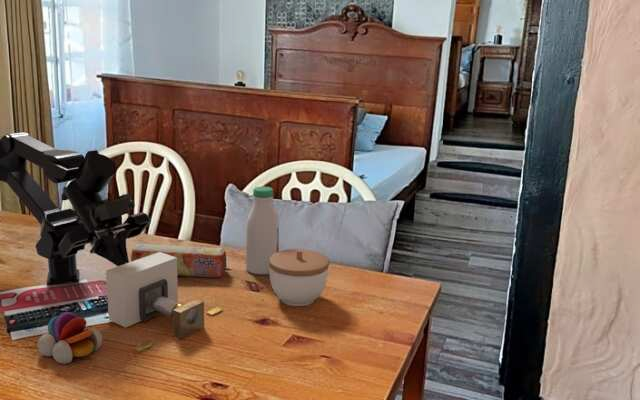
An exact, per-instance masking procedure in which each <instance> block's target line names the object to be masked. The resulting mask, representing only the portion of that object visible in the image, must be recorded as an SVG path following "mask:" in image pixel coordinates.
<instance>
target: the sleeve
mask: <svg viewBox="0 0 640 400" xmlns="http://www.w3.org/2000/svg"><path fill="white" fill-rule="evenodd" d="M105 278H106V292H107V296H106V297H107V309H108V313H107V314H108V321H111V322H113V323H115V324H117V325H119V326H120V327H123V328H125V329H126V328H128V327H130V326H132V325H134V324H137V323H140V322H141V321H142V322H146V321H148V320H150V319H152V318H154V317H156V316H158V315H159V316H160V315H161V314H162V313H160V312H158V311H156V310H153V309H151V308H149V307H146V298H145V293H146V292H149V291H151V292H154V293H156V294H159V295H161V296H164V297H166V298H169V299H171V300H174V301H176V302H179V300H178V299H179V296H178V295H179V292H178V290H179V289H178V276H177V258H176V257H173V256H170V255H168V254H165V253H162V252H158V253H155V254H152V255H149V256H146V257H144V258H141V259H138V260H135V261H132V262H131V261H129V263H126V264H123V265H120V266H115V267H112V268H110V269H106V270H105Z"/></svg>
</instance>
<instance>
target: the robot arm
mask: <svg viewBox="0 0 640 400" xmlns="http://www.w3.org/2000/svg"><path fill="white" fill-rule="evenodd" d="M27 161H28V162H30V163H32V164H34V165H35V166H37V167H39V168H41V169H42V172H43V176H45V177H46V178H47V179H48V180H49V181H51V182H52V183H54V184H55V185H56V184H62V183H66V182H68V184H67V186H63V188H62V190H63V191H62V193H61V200H62V201H64V202H65V201H69V202H70V204H71V205H72V206H71V207H72V208H73V209H72V208H71V207H70V208H66V209H62V210H61V209H60V208H59V207H58V206H57V205H56V203H54V201H53V200H52V199H51V197H50V196H49V195H48V194H47V193H46V192H45V191H44V189H43V188H42V187H41V186H40V184H39V183H38V182H37V181H36V180H35V178H34V177H32V175H31V174H30V173H29V172H28V170H27V167H26V166H27V165H26V164H27ZM116 173H117V165H116V163H115V161H114V160H112V159H111V158H110V157H109V156H107V155H105V154H103V153H100V152H99V150H98V149H93V150H87V152H86V153H85V156H84V155H83V154H82V153H81V152H78V151H73V150H67V149H66V150H65V149H56V148H54V147H52V146H50V145H48V144H46V143H44V142H42V141H40V140H37V139H36V138H34V137H32V136H31V135H30V134H29V133H27V132H13V133H12V132H11V133H6V134H5V135H3V136H2V137H1V138H0V182H3V183H6V184H7V185H8V186H9V188H11V190H12V191H13V193H14V194H15V195H16V196H17V197H18V199H19V200H20V201H21V202H22V204H24V206H25V207H26V208H27V210H28V211H29V212H30V213H31V215H32V216H33V217H34V218H35V219H36V221H37V222H38V223H39V224H40V234H39V235H40V238H39V240H38V241H37V243H35V249H36V253H37V255H38V256H40V257H42V258H45V259H47V265H48V272H47V276H46V277H47V278H46V285H48V286H49V285H50V286H51V285H59V283H60V284H68V283H67V282H70V283H78V282H79V281H80V269H78V268H77V254H78V253H79V251H83V250H85V247H86V245H89V244H90V247H91V249H90V250H89V253H90V254H92V255H93V254H95V255H97V256H100V257H102V258H103V259H105V260H107V261H108V262H110V263H112V264H114V265H115V266H116V267H118V266H120V265H123V264H126V263H129V262H130V261H129V255H128V249H127V239H131V238H134V237H138V236H140V235H142V233H143V232H144V231H145V229H147V227H148V226H149V224H151V223H152V220H151V218H150V217H149V215H148V214H147V213H146V212H138V213H135V214H131V210H132V209H134V208H135V202H134V201H135V200H134V199H133V198H132V196H131V195H130V194H129V192H128V193H124V194H121V195H118V196H117V199H115V200H112V201H110V200H108V198H107V199H103V198H102V196H101V194H100V193H101V192H103V190H104V189H105V188H106V187H107V185H108V184H109V183H110V182H111V180H112V178H113V177H114V175H116ZM130 214H131V215H130ZM124 215H129V216H128V217H127V218H125V220H124V222H123V223H120V221H122V219H123V217H122V216H124ZM118 222H119V223H120V224H118Z"/></svg>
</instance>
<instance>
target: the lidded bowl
mask: <svg viewBox="0 0 640 400" xmlns="http://www.w3.org/2000/svg"><path fill="white" fill-rule="evenodd" d="M269 266H270V274H269V280H270V284H271V287H272V290H273V292H274V294H276V296H277V297H278V298H279V299H280V301H281V302H282V304H285V305H287V306H291V307H307V306H309V305H311V304H313V303H315V301H316V299H318V298H319V297H320V296H321V294H322V293H323V291H324V290H325V287H326V283H327V280H328V275H329V267H330V260H329V257H327V256H326V255H324V254H323V253H321V252H318V251H316V250H310V249H302V248H299V249H298V248H297V249H296V248H295V249H294V248H291V249H285V250H279V252H277V253H275V254H273V255H272V256H271V257H270V258H269Z"/></svg>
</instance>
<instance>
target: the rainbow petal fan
mask: <svg viewBox="0 0 640 400" xmlns="http://www.w3.org/2000/svg"><path fill="white" fill-rule="evenodd" d="M86 327H87V320H86V318H84V317H81V316H79V317H78V315H77V314H75V313H73V312H72V311H66V312H63V313H60V315H56V316H53V317H52V318H51V319H50V320H49V321H48V325H47V332H48V333H47V332H46V333H43V334H42V335H41V336H40V337H39V339H38V340H37V350H38V352H39V353H40V354H41V355H42V356H45V357H53V360H55V361H56V362H57V363H59V364H63V365H66V364H69V363H71V362H72V361H73V357H77V358H79V357H85V356H88V355H89V354H91V353H92V352H95V351H97V350H98V349H99V348H100V347H101V345H102V344H103V334H102V333H101V332H100V331H99V330H98V329H96V328H93V327H92V328H90V327H89V328H86Z"/></svg>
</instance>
